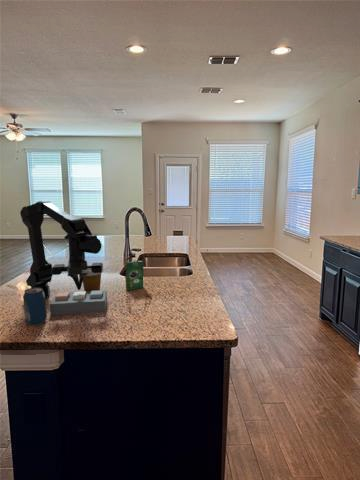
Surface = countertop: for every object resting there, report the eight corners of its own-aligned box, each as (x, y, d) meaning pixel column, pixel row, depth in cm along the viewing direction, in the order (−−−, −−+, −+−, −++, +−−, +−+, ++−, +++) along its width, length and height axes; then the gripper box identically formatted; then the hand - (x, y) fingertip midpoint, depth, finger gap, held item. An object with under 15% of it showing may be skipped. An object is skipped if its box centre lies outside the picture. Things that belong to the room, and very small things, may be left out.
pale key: (73, 305, 122) (72, 295, 122) (75, 301, 127) (74, 291, 126) (85, 304, 123) (84, 294, 122) (86, 300, 127) (86, 291, 127)
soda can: (49, 317, 116) (47, 286, 114) (42, 326, 109) (39, 293, 107) (30, 318, 116) (28, 286, 114) (22, 326, 109) (19, 293, 107)
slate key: (90, 304, 123) (90, 294, 123) (91, 300, 128) (91, 290, 127) (102, 303, 124) (101, 294, 123) (103, 299, 128) (102, 290, 128)
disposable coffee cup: (80, 299, 135) (79, 272, 132) (81, 291, 144) (80, 266, 141) (103, 297, 137) (102, 270, 135) (103, 290, 146) (101, 265, 144)
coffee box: (141, 286, 151) (141, 259, 149) (144, 287, 149) (143, 261, 147) (125, 289, 147) (124, 261, 145) (128, 290, 145) (127, 263, 143)
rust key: (56, 306, 121) (55, 296, 121) (58, 302, 126) (57, 292, 125) (67, 305, 122) (67, 295, 121) (69, 301, 126) (69, 292, 126)
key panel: (50, 315, 118) (49, 304, 117) (57, 303, 130) (56, 293, 129) (105, 311, 121) (104, 300, 120) (107, 300, 133) (106, 290, 132)
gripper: (46, 256, 112) (49, 298, 115) (99, 254, 115) (101, 295, 118) (53, 250, 123) (56, 288, 126) (102, 248, 126) (104, 285, 128)
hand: (79, 289), depth 124 cm, fingers closed
